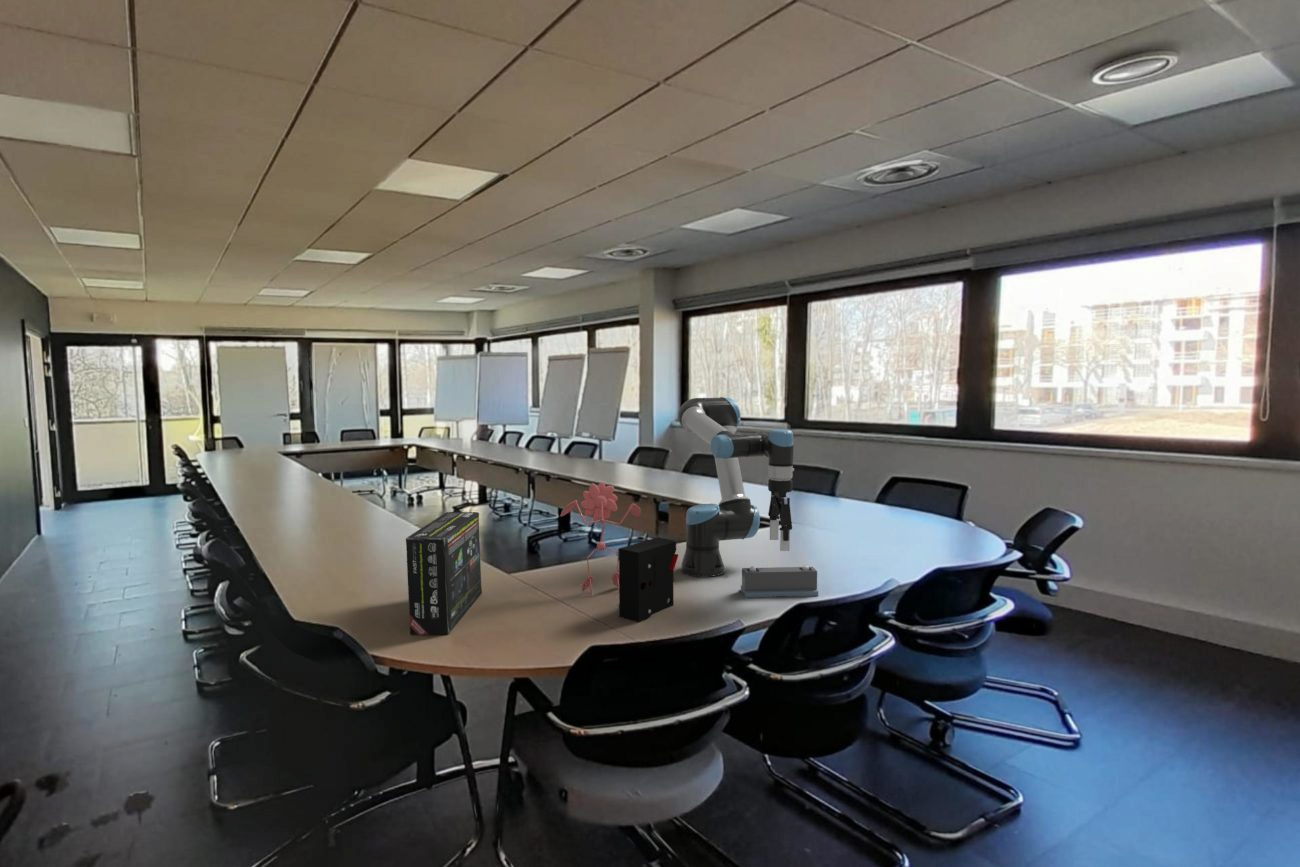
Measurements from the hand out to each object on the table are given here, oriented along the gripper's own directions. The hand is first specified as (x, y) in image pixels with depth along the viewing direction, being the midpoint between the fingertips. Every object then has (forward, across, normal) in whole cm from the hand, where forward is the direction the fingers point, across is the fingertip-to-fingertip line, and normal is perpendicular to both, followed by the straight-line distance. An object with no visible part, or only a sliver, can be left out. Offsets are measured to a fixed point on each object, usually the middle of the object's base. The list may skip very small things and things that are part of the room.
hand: (779, 545), depth 214 cm
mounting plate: (+15, 0, 0) cm, 15 cm away
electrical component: (+16, -14, +43) cm, 48 cm away
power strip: (+14, 0, 0) cm, 14 cm away
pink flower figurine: (+16, +8, +57) cm, 60 cm away
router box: (+16, -12, +101) cm, 103 cm away
